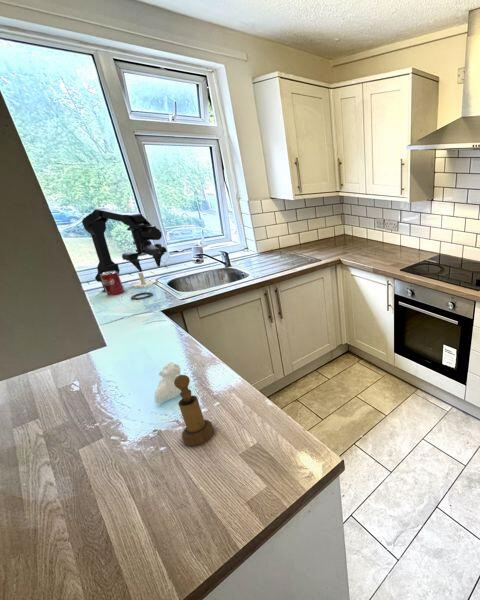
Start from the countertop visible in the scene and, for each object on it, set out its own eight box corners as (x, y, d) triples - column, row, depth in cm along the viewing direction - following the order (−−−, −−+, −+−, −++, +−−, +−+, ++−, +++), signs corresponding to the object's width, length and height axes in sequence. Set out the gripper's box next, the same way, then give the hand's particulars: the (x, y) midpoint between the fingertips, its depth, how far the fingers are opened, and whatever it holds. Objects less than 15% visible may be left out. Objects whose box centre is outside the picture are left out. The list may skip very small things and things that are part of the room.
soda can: (115, 297, 170) (107, 275, 166) (104, 296, 172) (95, 274, 167) (128, 292, 177) (121, 271, 172) (117, 291, 178) (110, 270, 173)
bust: (167, 414, 93) (185, 384, 91) (138, 404, 90) (156, 373, 88) (183, 388, 104) (200, 361, 102) (157, 378, 101) (174, 350, 99)
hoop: (126, 301, 165) (125, 298, 165) (141, 294, 174) (140, 291, 173) (143, 301, 165) (142, 298, 164) (157, 294, 173) (156, 292, 173)
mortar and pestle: (192, 427, 85) (173, 369, 78) (218, 425, 86) (201, 367, 79) (178, 447, 79) (157, 386, 72) (206, 445, 80) (187, 384, 73)
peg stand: (130, 288, 183) (126, 275, 180) (143, 282, 191) (139, 270, 188) (145, 288, 182) (141, 275, 179) (157, 283, 191) (153, 270, 188)
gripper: (132, 244, 154) (142, 276, 160) (170, 236, 170) (178, 265, 176) (116, 242, 157) (127, 273, 163) (155, 235, 173) (163, 263, 179)
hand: (150, 269), depth 170 cm, fingers open, 9 cm apart
